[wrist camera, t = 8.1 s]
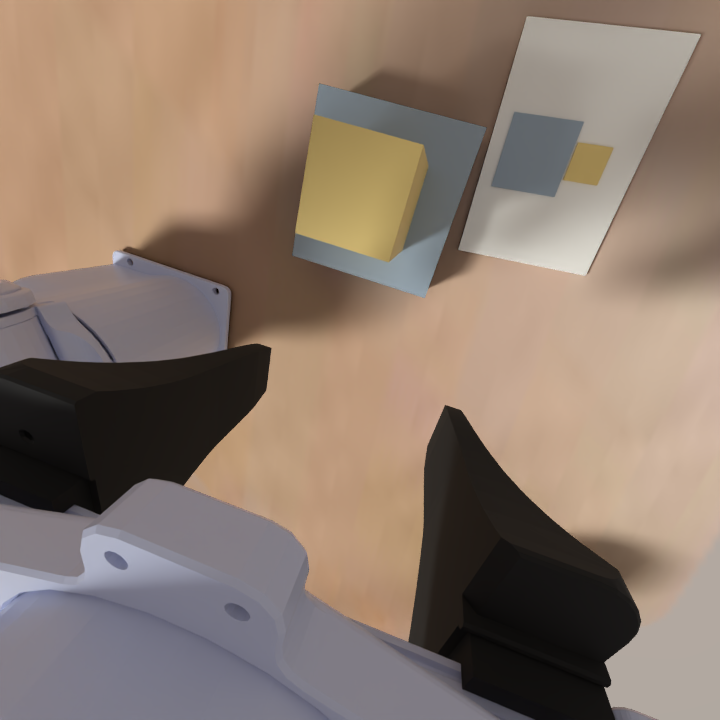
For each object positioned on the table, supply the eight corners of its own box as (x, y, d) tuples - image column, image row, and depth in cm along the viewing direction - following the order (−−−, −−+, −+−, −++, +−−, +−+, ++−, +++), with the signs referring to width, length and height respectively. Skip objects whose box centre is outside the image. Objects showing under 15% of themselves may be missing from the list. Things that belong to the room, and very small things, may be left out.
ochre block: (332, 229, 17) (295, 232, 13) (349, 144, 16) (313, 114, 11) (402, 250, 17) (388, 262, 13) (428, 166, 15) (423, 144, 11)
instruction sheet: (458, 249, 19) (458, 250, 18) (526, 18, 14) (527, 14, 14) (584, 275, 18) (586, 276, 17) (698, 36, 13) (703, 33, 13)
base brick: (308, 251, 21) (292, 255, 18) (335, 100, 17) (319, 83, 15) (426, 289, 20) (424, 297, 18) (480, 140, 16) (486, 127, 14)
